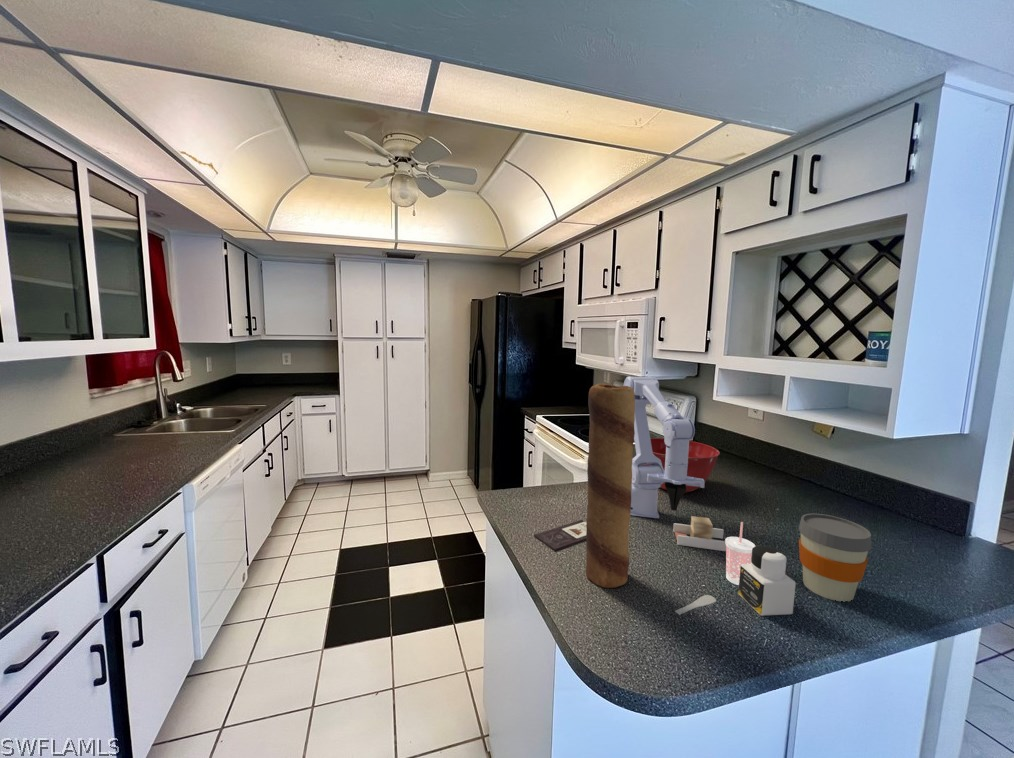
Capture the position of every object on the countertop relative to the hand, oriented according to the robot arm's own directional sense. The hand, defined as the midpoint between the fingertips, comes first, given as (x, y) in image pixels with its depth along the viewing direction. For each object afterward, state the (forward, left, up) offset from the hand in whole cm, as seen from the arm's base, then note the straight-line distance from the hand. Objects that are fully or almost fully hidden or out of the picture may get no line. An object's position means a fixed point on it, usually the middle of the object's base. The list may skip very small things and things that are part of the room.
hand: (673, 509), depth 111 cm
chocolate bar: (-28, -7, -9) cm, 30 cm away
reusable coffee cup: (+31, -15, -8) cm, 35 cm away
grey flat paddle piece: (-4, -34, -9) cm, 35 cm away
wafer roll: (-18, -24, -8) cm, 31 cm away
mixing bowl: (+7, +43, -9) cm, 44 cm away
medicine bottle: (+15, -25, -8) cm, 30 cm away
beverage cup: (+12, -17, -8) cm, 22 cm away
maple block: (+7, 0, -8) cm, 11 cm away
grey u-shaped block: (+7, 0, -8) cm, 11 cm away
